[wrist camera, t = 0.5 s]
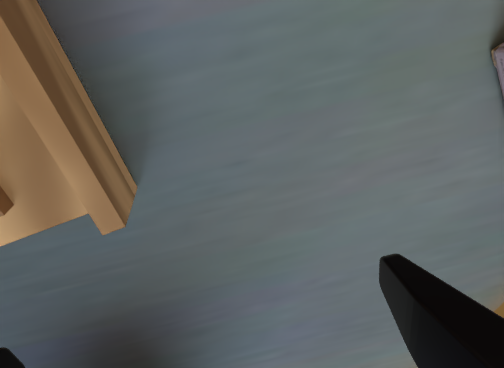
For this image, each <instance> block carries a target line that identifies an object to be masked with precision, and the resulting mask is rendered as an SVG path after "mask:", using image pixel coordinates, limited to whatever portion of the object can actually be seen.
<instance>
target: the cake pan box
mask: <svg viewBox="0 0 504 368" xmlns="http://www.w3.org/2000/svg"><path fill="white" fill-rule="evenodd" d="M491 53H492V59H493V63H494V66H495V67H496V68H497V72H498V77H499V81H500V85H501V90H502V94H503V98H504V42H503V43H502V44H500V45H499V46H497V47H496V48H494V49H492V51H491Z"/></svg>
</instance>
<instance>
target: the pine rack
mask: <svg viewBox="0 0 504 368" xmlns="http://www.w3.org/2000/svg"><path fill="white" fill-rule="evenodd" d="M0 186H1V188H2V189H3V190H4V192H5V193H6V194H7V196H8V197H9V198H10V200H11V201H12V202H13V204H14V206H13V207H12V208H11V209H10V210H9V211H8V212H7V213H6V214H5V215H4V216H1V217H0V246H3V245H5V244H8V243H11V242H13V241H16V240H19V239H21V238H24V237H27V236H29V235H32V234H35V233H37V232H40V231H43V230H45V229H48V228H51V227H54V226H56V225H59V224H62V223H64V222H67V221H70V220H72V219H75V218H78V217H80V216H83V215H86V214H88V213H89V215H90V216H91V218H92V219H93V221H94V223H95V224H96V226H97V227H98V229H99V230H100V232H101V234H102V235H105V234H108V233H110V232H113V231H116V230H118V229H121V228H124V227H125V226H126V223H127V220H128V217H129V214H130V210H131V207H132V204H133V201H134V197H135V194H136V191H137V186H136V184H135V182H134V180H133V178H132V177H131V175H130V173H129V171H128V169H127V167H126V165H125V164H124V162H123V160H122V158H121V156H120V154H119V152H118V151H117V149H116V147H115V145H114V143H113V141H112V140H111V138H110V136H109V134H108V132H107V130H106V128H105V127H104V125H103V123H102V121H101V119H100V117H99V115H98V114H97V112H96V110H95V108H94V106H93V104H92V102H91V101H90V99H89V97H88V95H87V93H86V91H85V89H84V88H83V86H82V84H81V82H80V80H79V78H78V76H77V75H76V73H75V71H74V69H73V67H72V65H71V64H70V62H69V60H68V58H67V56H66V54H65V52H64V51H63V49H62V47H61V45H60V43H59V41H58V39H57V38H56V36H55V34H54V32H53V30H52V28H51V26H50V25H49V23H48V21H47V19H46V17H45V15H44V13H43V12H42V10H41V8H40V6H39V4H38V2H37V0H0Z"/></svg>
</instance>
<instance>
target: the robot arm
mask: <svg viewBox="0 0 504 368" xmlns="http://www.w3.org/2000/svg"><path fill="white" fill-rule="evenodd" d="M379 283H380V287H381V290H382V292H383V294H384V296H385V299H386V301H387V303H388V305H389V308H390V310H391V312H392V315H393V317H394V319H395V321H396V324H397V326H398V328H399V330H400V333H401V335H402V337H403V339H404V342H405V344H406V346H407V348H408V350H409V352H410V354H411V356H412V358H413V359H414V361H415V363H416V365H417V366H418V368H504V318H502V317H501V316H499V315H497V314H496V313H494V312H493V311H491V310H489V309H488V308H486V307H484V306H483V305H481V304H480V303H478V302H476V301H475V300H473V299H471V298H470V297H468V296H467V295H465V294H463V293H462V292H460V291H458V290H457V289H455V288H454V287H452V286H450V285H449V284H447V283H445V282H444V281H442V280H441V279H439V278H437V277H436V276H434V275H432V274H431V273H429V272H428V271H426V270H424V269H423V268H421V267H419V266H418V265H416V264H415V263H413V262H411V261H410V260H408V259H406V258H405V257H403V256H402V255H400V254H391V255H387V256H383V257H381V258H380V264H379ZM0 368H25V366H24V365H23V363H22V362H21V361H20V360H19V359H18V358H17V357H16V356H15V355H14V354H13V353H12V352H11V351H10V350H9V349H7V348H4V347H2V348H0Z"/></svg>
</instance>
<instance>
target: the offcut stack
mask: <svg viewBox="0 0 504 368" xmlns="http://www.w3.org/2000/svg"><path fill="white" fill-rule="evenodd" d="M13 206H14V204H13V202H12V201H11V200H10V198H9V197H8V196H7V194H6V193H5V192H4V190H3V189H2V188H1V186H0V217H1V216H4V215H5V214H6V213H7V212H8V211H9V210H10V209H11V208H12V207H13Z"/></svg>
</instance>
